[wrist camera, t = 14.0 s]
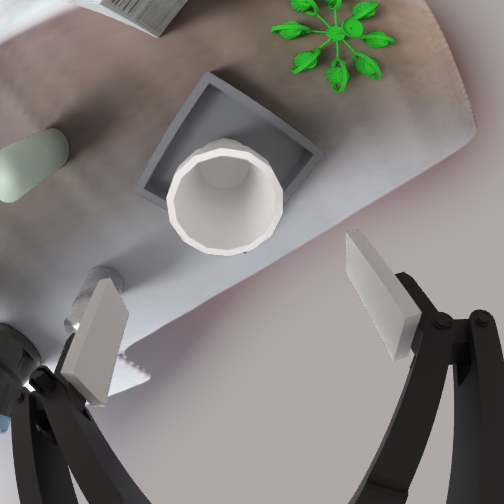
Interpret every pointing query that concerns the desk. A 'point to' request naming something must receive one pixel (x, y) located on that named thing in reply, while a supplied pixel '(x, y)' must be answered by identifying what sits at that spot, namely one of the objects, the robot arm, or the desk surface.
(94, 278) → the steel canister
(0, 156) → the sage canister
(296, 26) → the green leafy sprig
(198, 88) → the tray
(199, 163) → the foam cup
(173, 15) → the supplement box
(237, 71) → the desk surface
